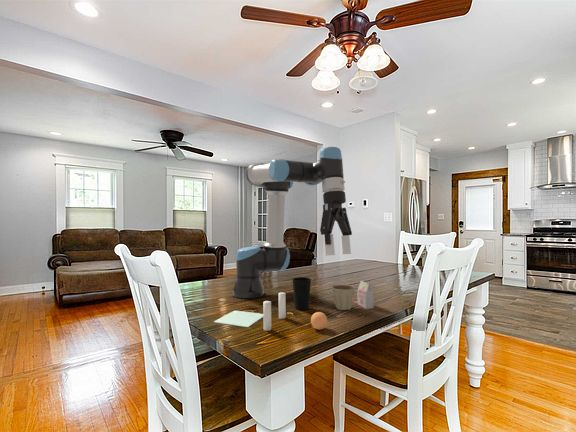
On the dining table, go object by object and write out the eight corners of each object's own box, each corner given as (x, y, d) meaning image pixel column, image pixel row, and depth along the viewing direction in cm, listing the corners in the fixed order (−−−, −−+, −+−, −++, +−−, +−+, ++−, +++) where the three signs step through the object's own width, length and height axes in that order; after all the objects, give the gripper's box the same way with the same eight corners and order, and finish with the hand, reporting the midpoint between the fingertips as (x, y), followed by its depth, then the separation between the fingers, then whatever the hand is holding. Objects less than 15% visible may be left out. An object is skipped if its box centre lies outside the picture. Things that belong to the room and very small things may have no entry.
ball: (313, 325, 98) (313, 309, 99) (329, 327, 96) (329, 310, 96) (308, 330, 93) (308, 313, 93) (325, 333, 91) (325, 315, 91)
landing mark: (234, 310, 115) (234, 310, 115) (266, 314, 110) (266, 314, 110) (213, 322, 102) (213, 321, 102) (247, 327, 97) (247, 326, 97)
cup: (309, 311, 114) (309, 281, 114) (291, 310, 115) (290, 280, 116) (312, 306, 121) (311, 277, 122) (294, 305, 123) (294, 276, 123)
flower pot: (330, 304, 123) (330, 284, 123) (352, 304, 122) (352, 284, 123) (333, 311, 113) (333, 289, 114) (357, 311, 113) (357, 289, 113)
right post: (280, 316, 108) (280, 292, 109) (286, 316, 107) (286, 292, 108) (277, 318, 106) (277, 293, 106) (284, 319, 105) (283, 294, 105)
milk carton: (364, 303, 124) (364, 280, 124) (373, 308, 118) (373, 283, 118) (357, 304, 123) (356, 281, 123) (365, 309, 117) (365, 284, 117)
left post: (265, 327, 97) (265, 300, 97) (272, 328, 96) (272, 301, 96) (262, 330, 94) (261, 302, 94) (269, 331, 93) (269, 303, 93)
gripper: (327, 183, 86) (333, 255, 83) (357, 195, 106) (362, 253, 103) (306, 188, 90) (311, 256, 87) (338, 198, 110) (343, 254, 108)
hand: (339, 254), depth 95 cm, fingers open, 13 cm apart
